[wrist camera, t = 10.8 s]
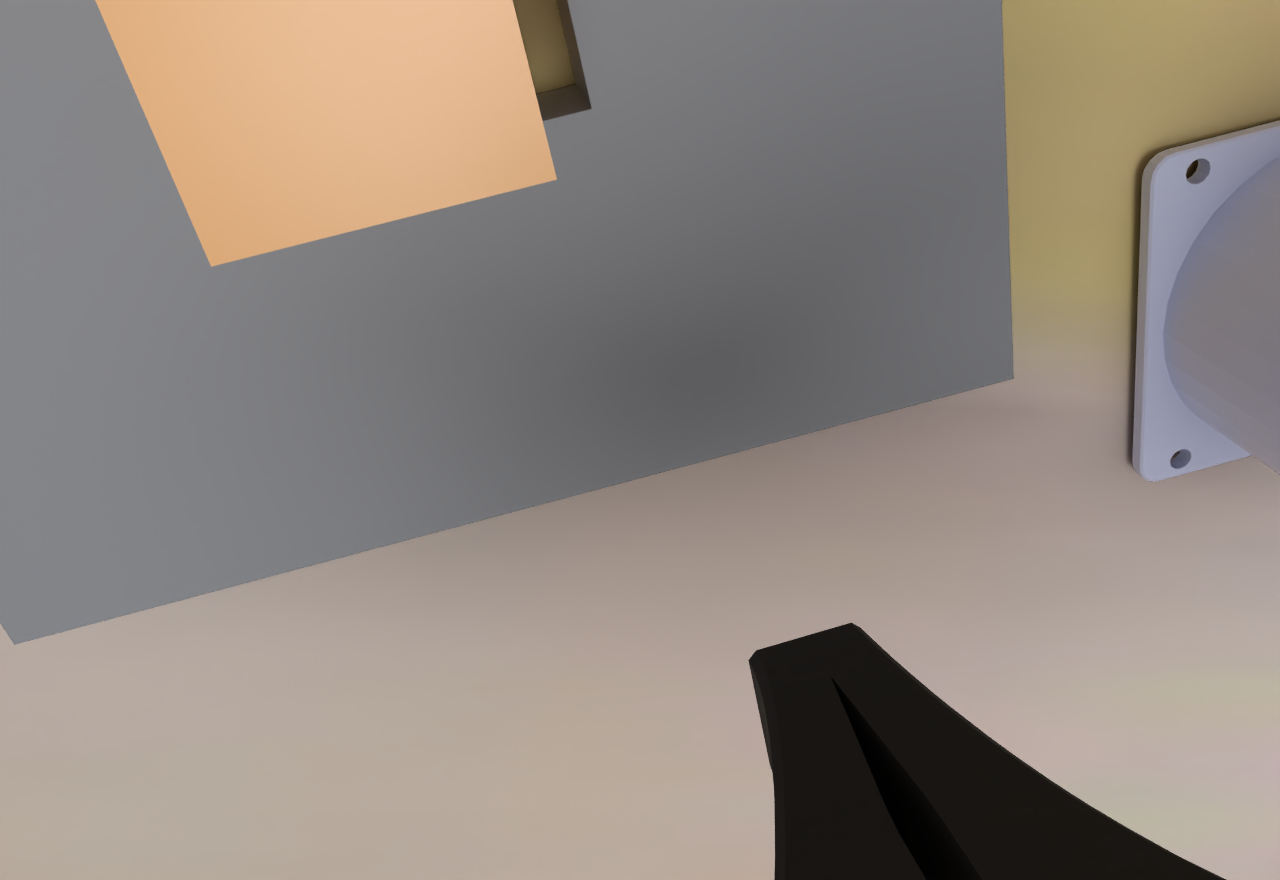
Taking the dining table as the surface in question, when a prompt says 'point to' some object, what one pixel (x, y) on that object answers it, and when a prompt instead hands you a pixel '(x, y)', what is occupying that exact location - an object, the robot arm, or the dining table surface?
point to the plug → (330, 111)
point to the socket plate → (486, 296)
